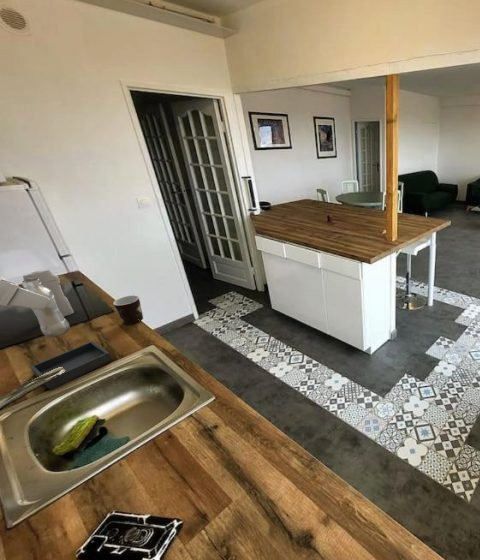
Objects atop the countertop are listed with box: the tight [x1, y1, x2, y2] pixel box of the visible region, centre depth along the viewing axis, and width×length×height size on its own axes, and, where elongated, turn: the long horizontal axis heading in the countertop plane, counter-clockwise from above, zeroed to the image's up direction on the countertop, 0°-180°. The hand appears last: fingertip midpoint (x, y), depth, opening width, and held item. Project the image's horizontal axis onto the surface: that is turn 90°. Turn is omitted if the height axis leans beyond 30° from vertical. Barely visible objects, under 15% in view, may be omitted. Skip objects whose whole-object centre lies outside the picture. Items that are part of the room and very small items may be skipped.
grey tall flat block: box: [21, 269, 75, 318], centre depth 132 cm, size 11×4×22 cm, turn 146°
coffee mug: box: [112, 294, 144, 325], centre depth 132 cm, size 12×9×10 cm
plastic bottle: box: [21, 278, 71, 338], centre depth 99 cm, size 6×7×20 cm
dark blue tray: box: [29, 340, 113, 391], centre depth 107 cm, size 17×14×4 cm
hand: (46, 303), depth 99 cm, fingers closed on plastic bottle, 6 cm apart
